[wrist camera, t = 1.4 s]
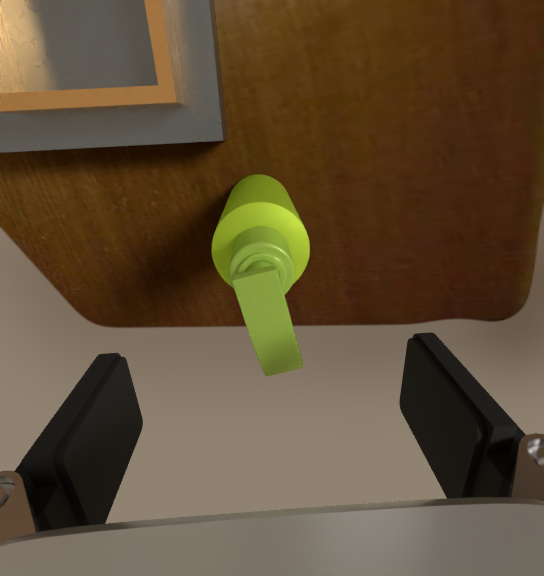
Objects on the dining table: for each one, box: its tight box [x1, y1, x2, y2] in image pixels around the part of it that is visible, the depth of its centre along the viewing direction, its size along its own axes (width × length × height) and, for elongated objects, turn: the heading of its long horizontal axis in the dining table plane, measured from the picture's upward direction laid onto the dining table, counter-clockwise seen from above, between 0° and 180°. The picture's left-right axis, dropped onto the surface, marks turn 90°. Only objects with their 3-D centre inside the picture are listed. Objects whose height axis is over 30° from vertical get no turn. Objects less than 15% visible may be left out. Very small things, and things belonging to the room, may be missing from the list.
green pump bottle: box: [212, 175, 310, 376], centre depth 23 cm, size 6×7×20 cm
